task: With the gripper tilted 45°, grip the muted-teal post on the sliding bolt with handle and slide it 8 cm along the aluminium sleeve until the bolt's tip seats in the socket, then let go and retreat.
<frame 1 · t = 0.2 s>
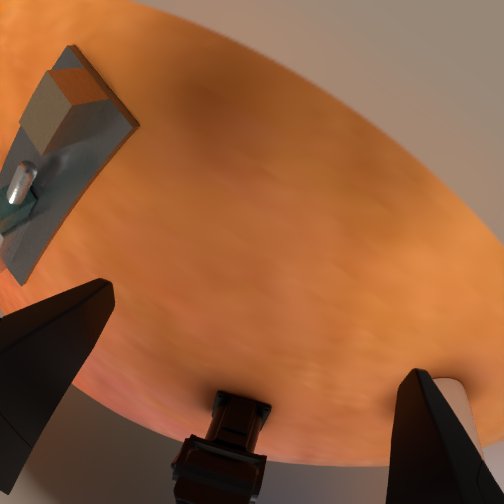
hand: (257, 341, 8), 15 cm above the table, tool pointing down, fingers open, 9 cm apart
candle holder: (430, 398, 28), on the table
sleeve and socket: (32, 193, 27), on the table
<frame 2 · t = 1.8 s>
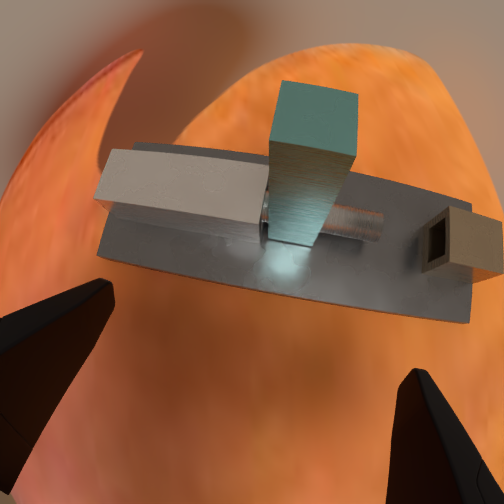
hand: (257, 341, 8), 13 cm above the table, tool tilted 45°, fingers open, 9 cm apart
sleeve and socket: (292, 227, 23), on the table
sliding bolt with handle: (236, 173, 16), point 7 cm above the table, slide at 0.0 cm
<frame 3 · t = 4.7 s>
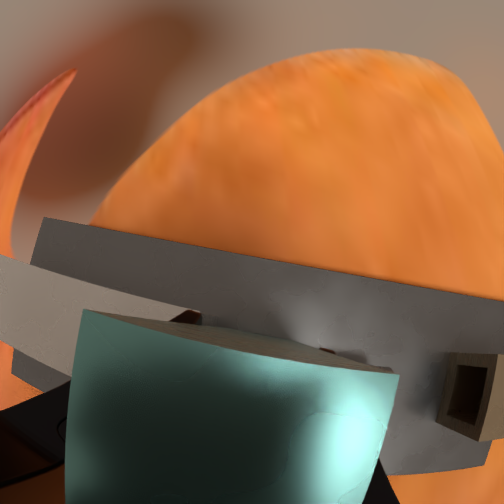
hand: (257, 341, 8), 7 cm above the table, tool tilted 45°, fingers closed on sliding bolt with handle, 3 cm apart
sleeve and socket: (253, 363, 15), on the table
sliding bolt with handle: (125, 358, 8), point 7 cm above the table, slide at 0.1 cm, touching gripper
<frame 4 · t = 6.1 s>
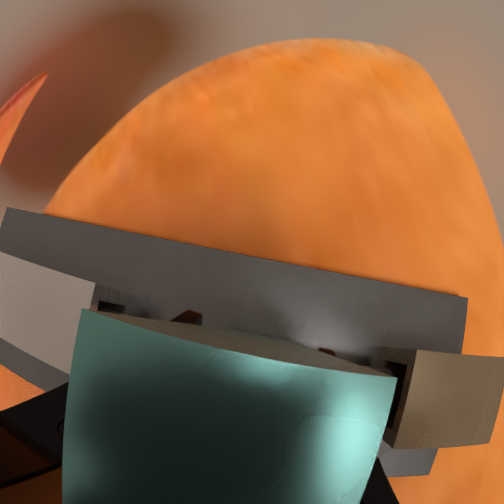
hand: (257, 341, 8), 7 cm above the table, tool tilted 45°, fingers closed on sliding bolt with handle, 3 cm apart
sleeve and socket: (170, 343, 15), on the table
sliding bolt with handle: (124, 357, 8), point 7 cm above the table, slide at 4.3 cm, touching gripper
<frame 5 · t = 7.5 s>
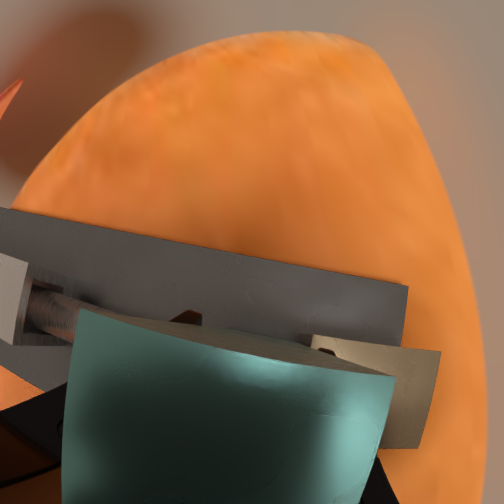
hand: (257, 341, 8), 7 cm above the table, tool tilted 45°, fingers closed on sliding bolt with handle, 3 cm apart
sleeve and socket: (105, 324, 16), on the table
sliding bolt with handle: (124, 358, 8), point 7 cm above the table, slide at 8.2 cm, touching gripper
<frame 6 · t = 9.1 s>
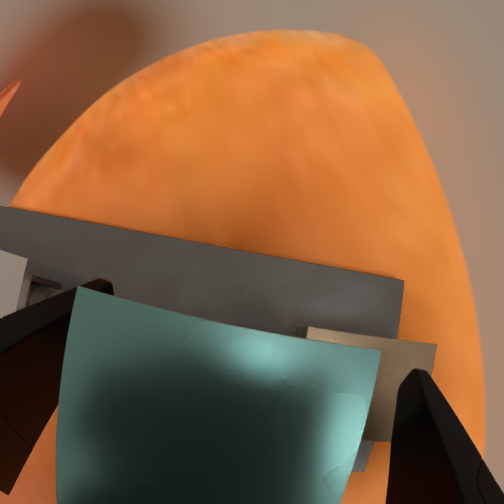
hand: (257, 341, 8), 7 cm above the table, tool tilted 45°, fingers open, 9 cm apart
sleeve and socket: (103, 320, 16), on the table
sliding bolt with handle: (122, 349, 8), point 7 cm above the table, slide at 8.2 cm
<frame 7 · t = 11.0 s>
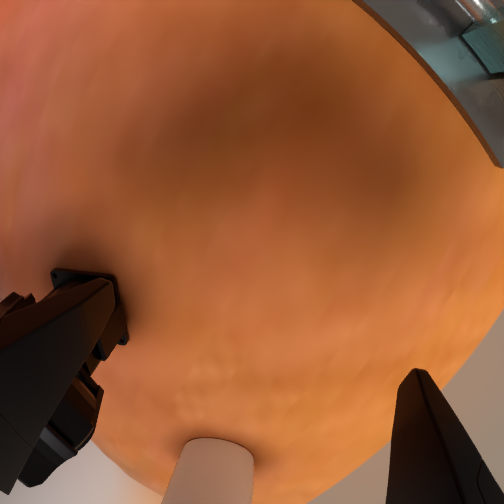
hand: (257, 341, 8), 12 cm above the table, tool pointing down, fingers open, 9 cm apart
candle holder: (218, 454, 31), on the table
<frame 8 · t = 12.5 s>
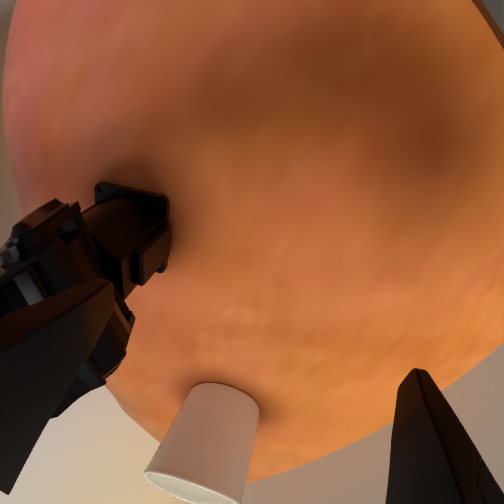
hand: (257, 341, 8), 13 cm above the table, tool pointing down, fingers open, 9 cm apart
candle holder: (225, 402, 33), on the table
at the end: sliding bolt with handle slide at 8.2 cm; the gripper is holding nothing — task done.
